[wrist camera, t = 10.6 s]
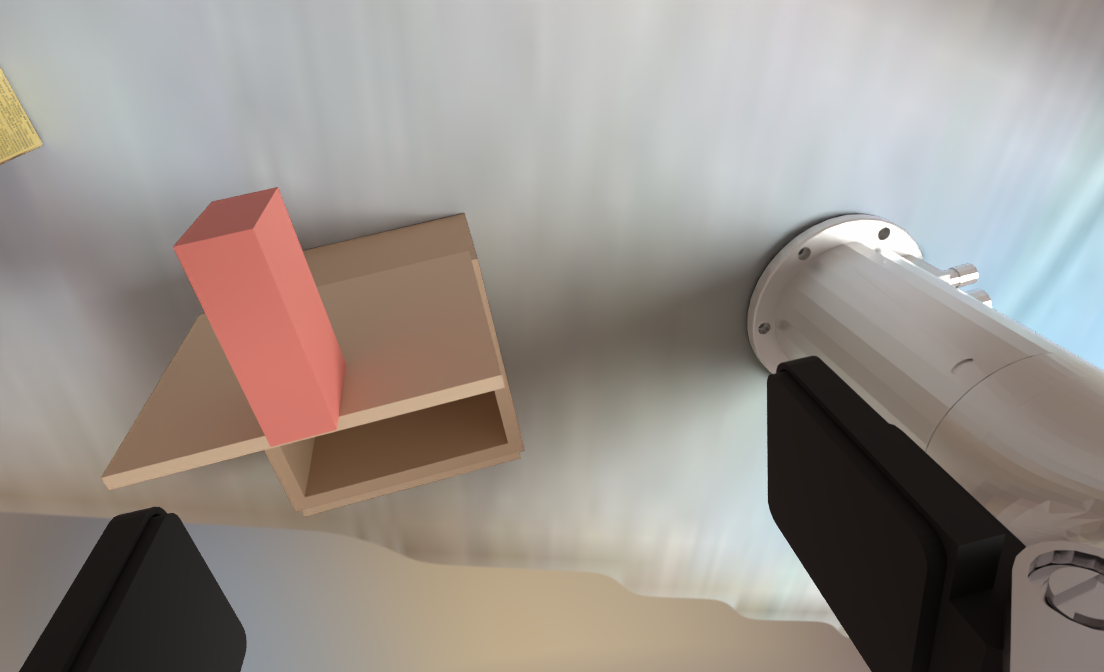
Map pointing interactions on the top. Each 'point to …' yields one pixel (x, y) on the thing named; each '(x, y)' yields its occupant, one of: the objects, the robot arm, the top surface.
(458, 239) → the carton
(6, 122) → the candy box
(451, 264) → the taped cardboard box
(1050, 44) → the top surface
